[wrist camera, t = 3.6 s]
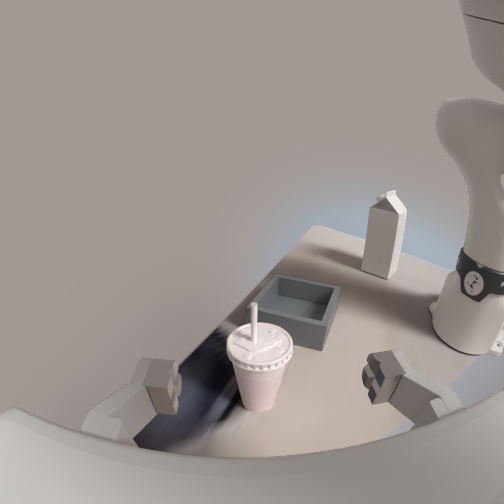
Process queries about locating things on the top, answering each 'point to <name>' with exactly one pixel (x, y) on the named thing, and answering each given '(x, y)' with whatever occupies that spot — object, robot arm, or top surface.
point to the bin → (298, 308)
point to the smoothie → (259, 361)
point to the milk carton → (384, 235)
